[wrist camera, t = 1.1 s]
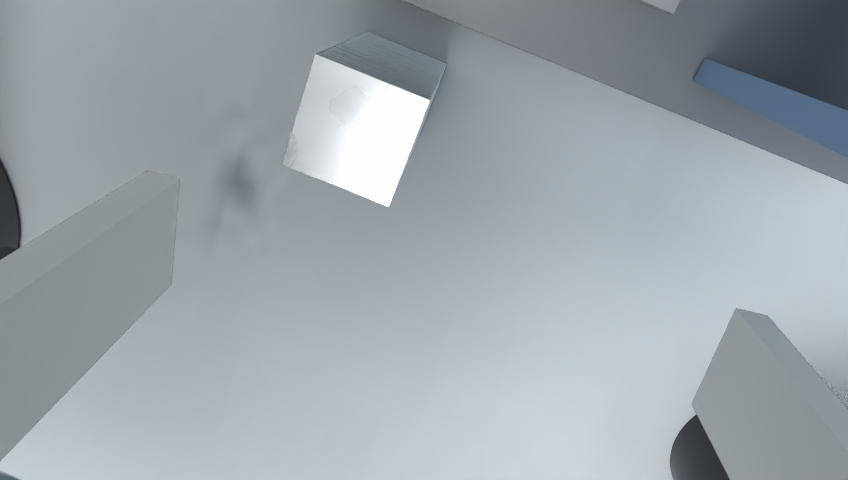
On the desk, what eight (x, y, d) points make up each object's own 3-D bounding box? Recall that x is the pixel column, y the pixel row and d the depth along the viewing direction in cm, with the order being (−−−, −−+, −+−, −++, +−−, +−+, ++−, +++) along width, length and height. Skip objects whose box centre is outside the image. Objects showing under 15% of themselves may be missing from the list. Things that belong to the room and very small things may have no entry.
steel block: (341, 111, 32) (281, 164, 23) (367, 31, 31) (315, 54, 21) (417, 141, 32) (388, 206, 23) (447, 63, 31) (429, 100, 22)
